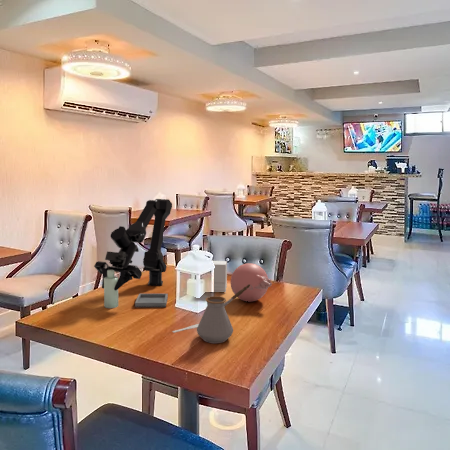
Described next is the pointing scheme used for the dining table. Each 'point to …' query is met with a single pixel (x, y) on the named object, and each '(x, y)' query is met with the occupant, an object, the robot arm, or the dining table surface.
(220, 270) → the supplement box
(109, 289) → the glass bottle
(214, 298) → the coffee pot
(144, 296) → the slate tray
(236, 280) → the pomegranate
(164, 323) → the dining table surface
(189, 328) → the butter knife
